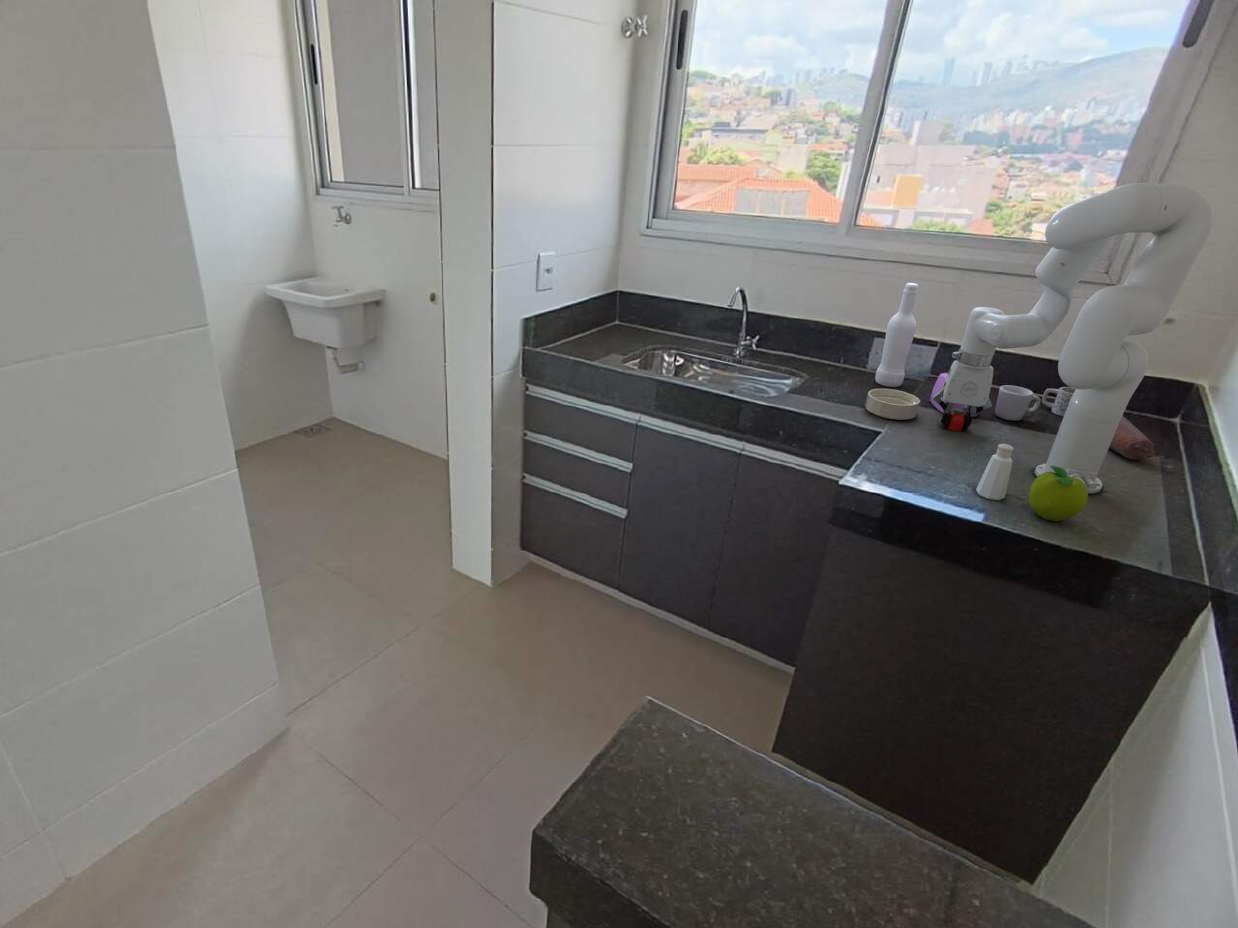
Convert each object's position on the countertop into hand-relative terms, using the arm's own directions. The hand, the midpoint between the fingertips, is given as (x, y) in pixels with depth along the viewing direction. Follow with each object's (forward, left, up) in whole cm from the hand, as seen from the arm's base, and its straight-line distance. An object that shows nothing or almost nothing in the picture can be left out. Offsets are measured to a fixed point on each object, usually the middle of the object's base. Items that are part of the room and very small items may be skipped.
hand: (954, 427), depth 169 cm
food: (+1, -36, 0) cm, 36 cm away
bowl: (+6, +15, 0) cm, 16 cm away
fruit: (-45, -8, 0) cm, 46 cm away
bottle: (+33, +12, 0) cm, 35 cm away
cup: (+14, -18, 0) cm, 23 cm away
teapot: (+16, -3, 0) cm, 16 cm away
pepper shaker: (-38, +1, 0) cm, 38 cm away
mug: (+25, -33, 0) cm, 41 cm away
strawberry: (0, 0, 0) cm, 0 cm away
